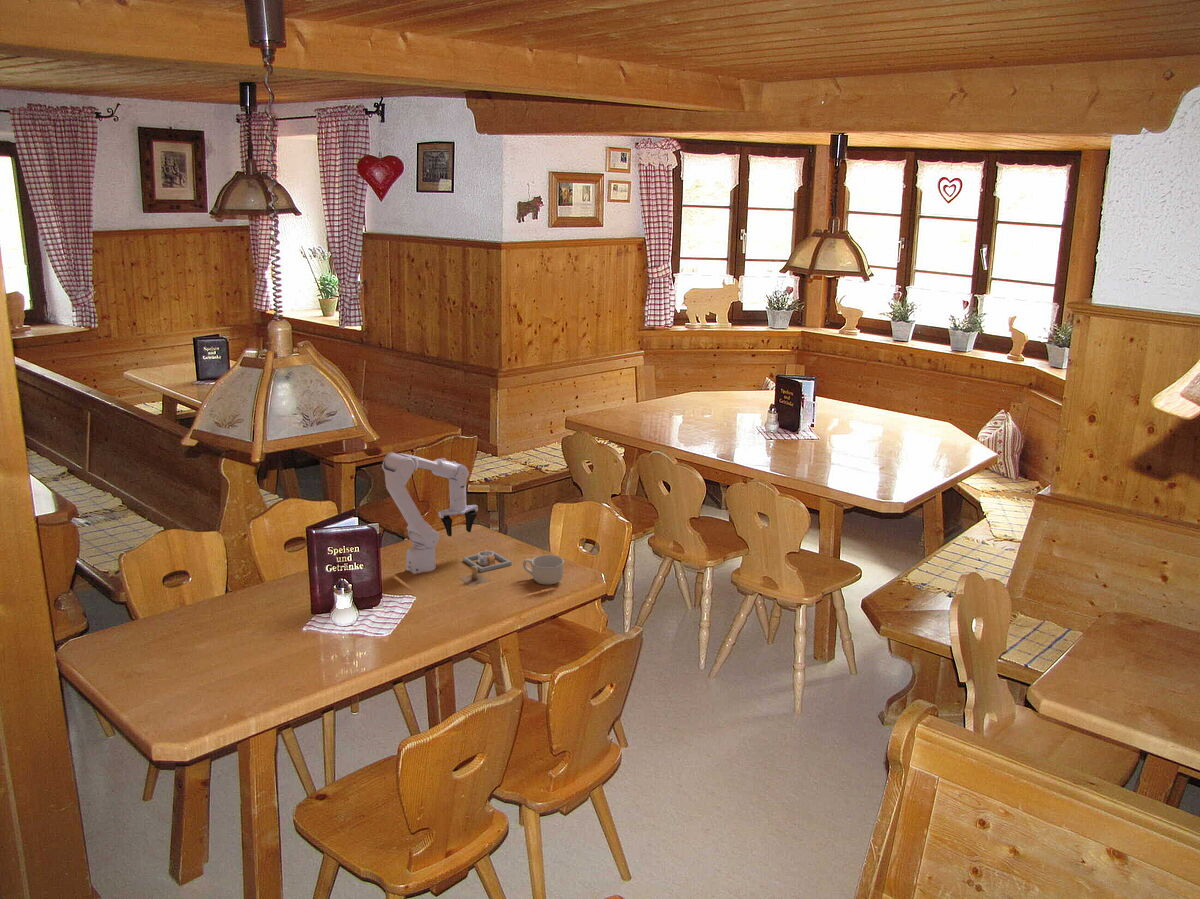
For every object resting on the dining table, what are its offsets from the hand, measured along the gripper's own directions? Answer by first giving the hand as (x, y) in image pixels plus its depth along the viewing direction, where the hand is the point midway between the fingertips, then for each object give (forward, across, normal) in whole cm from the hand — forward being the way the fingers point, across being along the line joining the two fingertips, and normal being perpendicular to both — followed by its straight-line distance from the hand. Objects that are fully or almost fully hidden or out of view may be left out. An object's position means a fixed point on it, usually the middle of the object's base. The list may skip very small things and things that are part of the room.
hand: (459, 533), depth 349 cm
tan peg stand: (+9, -6, -22) cm, 25 cm away
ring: (+9, +5, -10) cm, 14 cm away
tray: (+9, +5, -11) cm, 15 cm away
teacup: (+10, +13, -35) cm, 39 cm away
